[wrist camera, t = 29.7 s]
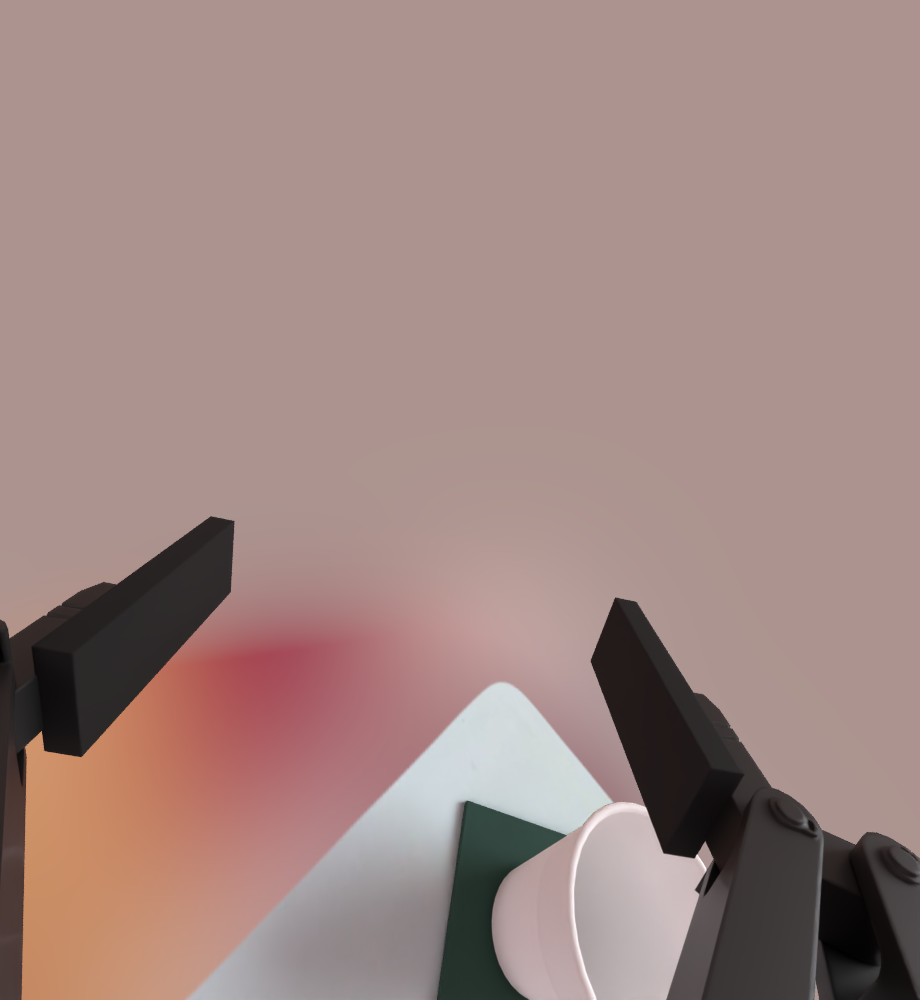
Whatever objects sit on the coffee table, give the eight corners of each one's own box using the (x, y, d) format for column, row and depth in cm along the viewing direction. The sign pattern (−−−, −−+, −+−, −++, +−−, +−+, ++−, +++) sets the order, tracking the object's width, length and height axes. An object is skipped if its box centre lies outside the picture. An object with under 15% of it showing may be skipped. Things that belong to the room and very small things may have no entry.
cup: (432, 983, 25) (542, 1003, 18) (494, 799, 33) (590, 761, 25) (579, 1095, 25) (752, 1162, 18) (608, 884, 32) (738, 871, 25)
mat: (430, 1041, 24) (433, 1042, 24) (464, 801, 32) (467, 800, 32) (605, 1083, 26) (610, 1084, 26) (596, 847, 34) (599, 846, 34)
